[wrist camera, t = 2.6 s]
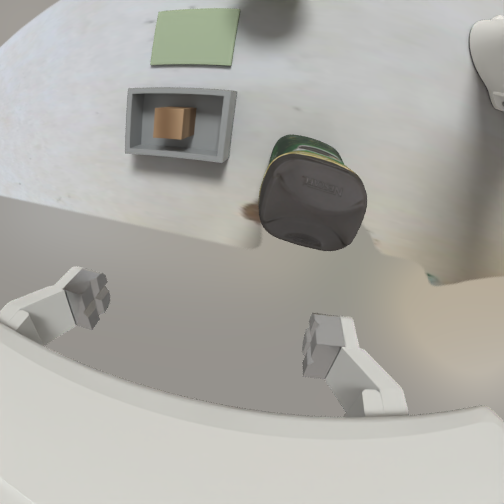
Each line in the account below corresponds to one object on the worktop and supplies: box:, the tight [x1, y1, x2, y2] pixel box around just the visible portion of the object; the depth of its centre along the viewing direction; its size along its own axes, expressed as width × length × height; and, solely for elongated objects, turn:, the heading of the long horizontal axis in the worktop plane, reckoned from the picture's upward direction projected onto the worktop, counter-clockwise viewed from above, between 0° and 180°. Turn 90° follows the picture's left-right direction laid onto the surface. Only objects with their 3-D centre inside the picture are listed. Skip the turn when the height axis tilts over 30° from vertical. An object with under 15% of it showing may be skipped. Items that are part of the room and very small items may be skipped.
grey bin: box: [125, 87, 237, 163], centre depth 35 cm, size 15×10×4 cm, turn 82°
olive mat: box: [150, 8, 240, 66], centre depth 30 cm, size 12×9×1 cm
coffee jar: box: [258, 135, 367, 251], centre depth 30 cm, size 10×8×19 cm
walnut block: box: [153, 106, 197, 140], centre depth 34 cm, size 4×4×5 cm
